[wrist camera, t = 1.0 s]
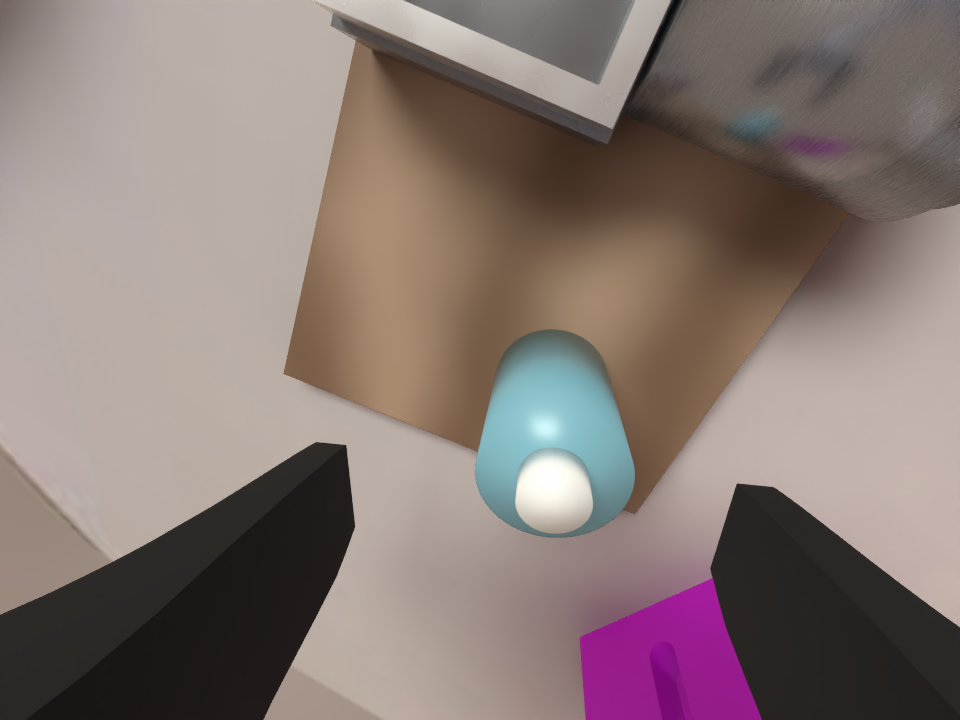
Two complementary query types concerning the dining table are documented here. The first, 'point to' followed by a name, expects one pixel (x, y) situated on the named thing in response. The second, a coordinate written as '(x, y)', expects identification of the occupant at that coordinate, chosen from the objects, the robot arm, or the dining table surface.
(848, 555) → the robot arm
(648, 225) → the mounting board
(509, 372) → the blue bottle white cap
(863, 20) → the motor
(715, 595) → the tape dispenser
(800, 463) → the dining table surface
